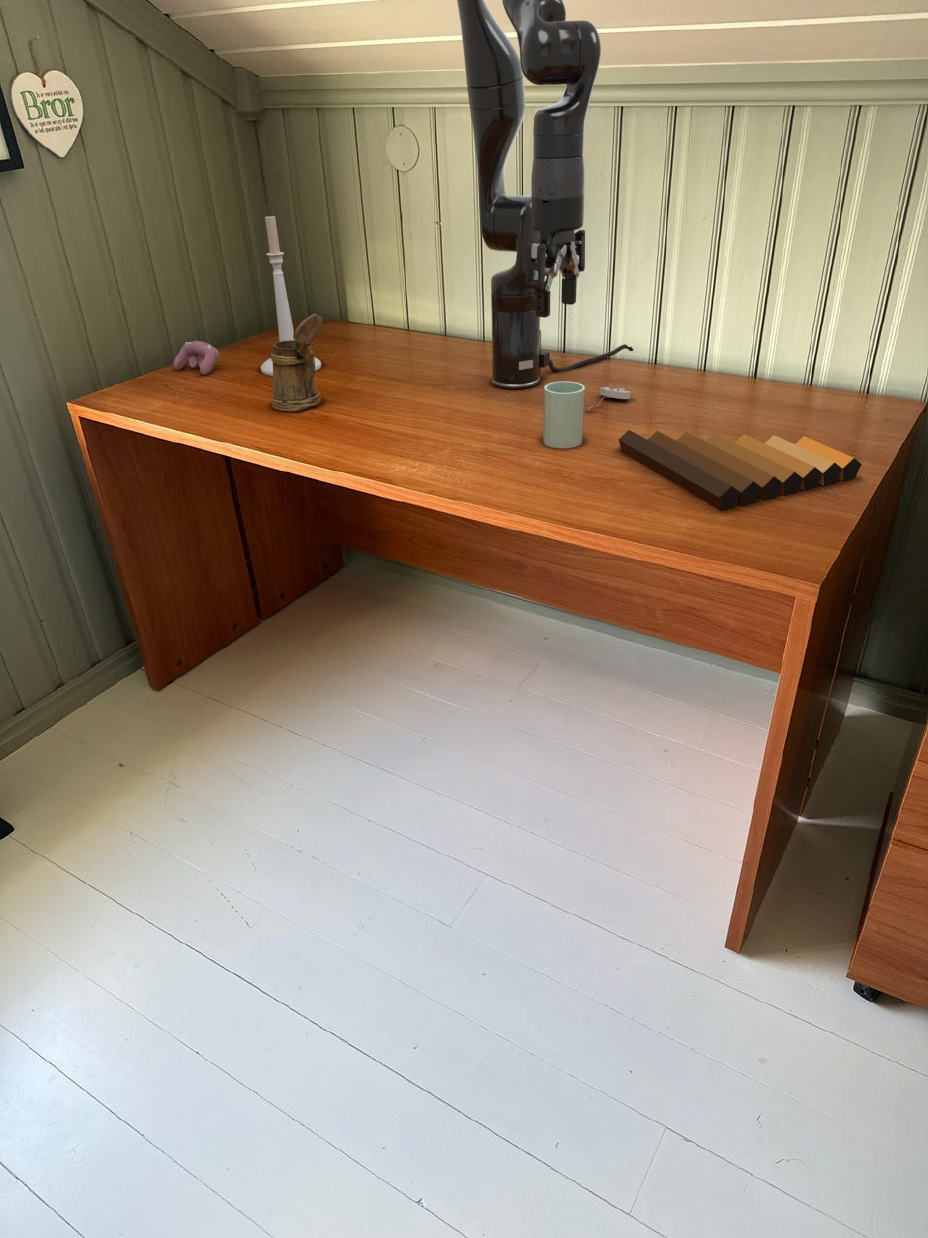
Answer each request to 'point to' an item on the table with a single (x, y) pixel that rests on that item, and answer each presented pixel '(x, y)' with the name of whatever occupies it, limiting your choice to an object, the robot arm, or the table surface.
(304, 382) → the wooden mug
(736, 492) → the pan flute
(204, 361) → the video game controller
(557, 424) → the cup
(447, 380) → the table surface
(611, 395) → the game controller
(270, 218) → the candlestick
